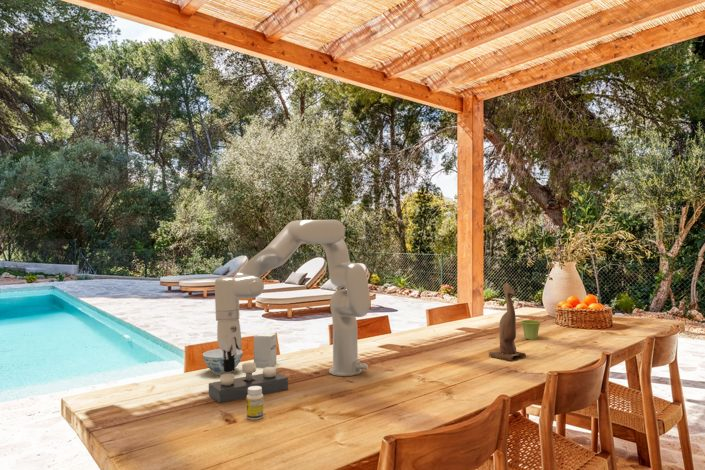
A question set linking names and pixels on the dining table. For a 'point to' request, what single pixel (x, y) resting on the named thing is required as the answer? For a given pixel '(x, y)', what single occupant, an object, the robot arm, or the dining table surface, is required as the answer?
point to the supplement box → (265, 349)
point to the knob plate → (241, 387)
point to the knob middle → (248, 370)
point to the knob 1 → (227, 379)
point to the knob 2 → (269, 372)
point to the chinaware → (219, 360)
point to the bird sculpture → (507, 330)
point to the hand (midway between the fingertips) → (229, 370)
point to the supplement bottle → (254, 403)
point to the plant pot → (530, 329)
